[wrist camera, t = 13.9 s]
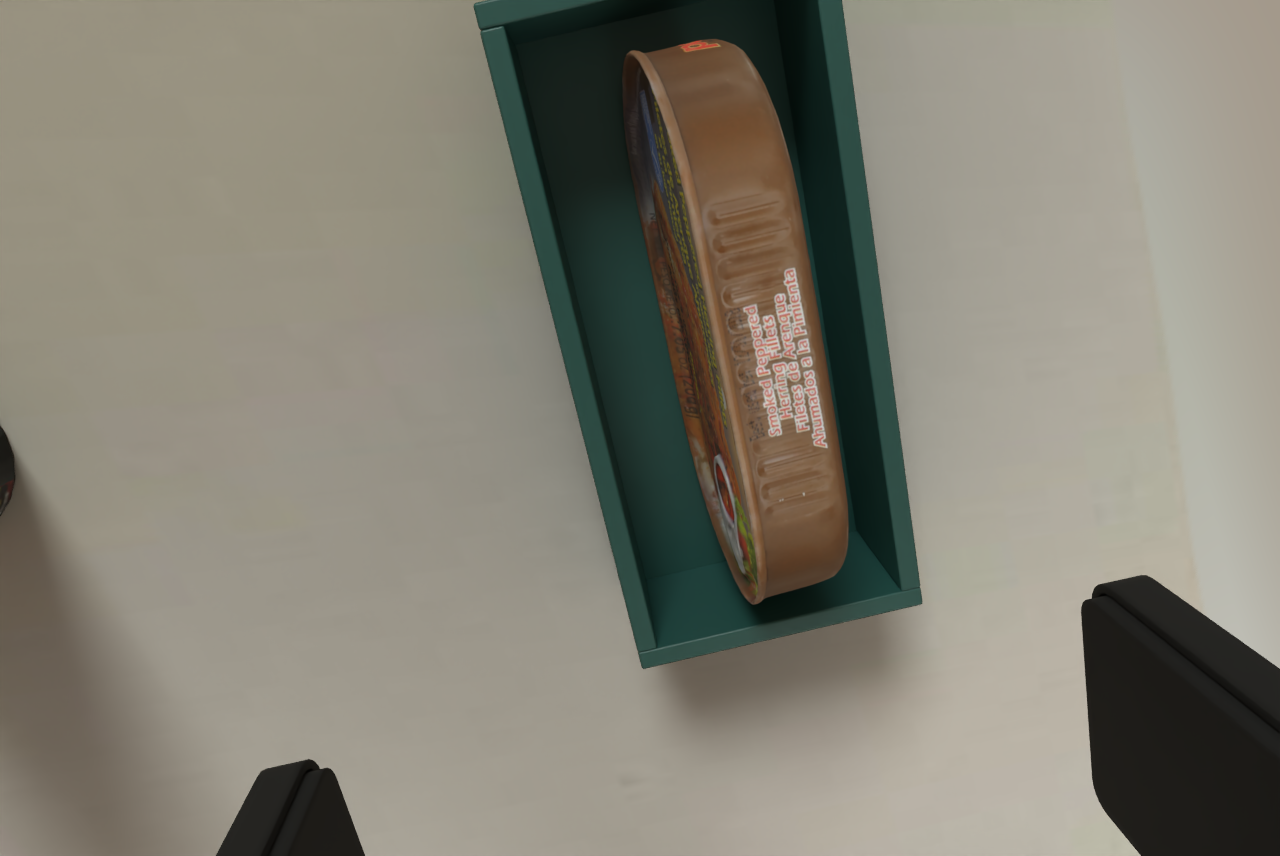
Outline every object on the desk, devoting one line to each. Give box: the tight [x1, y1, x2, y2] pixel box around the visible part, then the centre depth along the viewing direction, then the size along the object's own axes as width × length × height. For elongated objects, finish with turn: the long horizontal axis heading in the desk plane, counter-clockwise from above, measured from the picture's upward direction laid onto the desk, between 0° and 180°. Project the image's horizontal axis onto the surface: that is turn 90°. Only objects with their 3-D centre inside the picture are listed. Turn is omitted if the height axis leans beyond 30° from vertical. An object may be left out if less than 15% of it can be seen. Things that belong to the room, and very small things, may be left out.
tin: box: [622, 39, 849, 605], centre depth 24 cm, size 15×3×8 cm, turn 12°
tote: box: [474, 0, 922, 669], centre depth 26 cm, size 19×9×5 cm, turn 12°
